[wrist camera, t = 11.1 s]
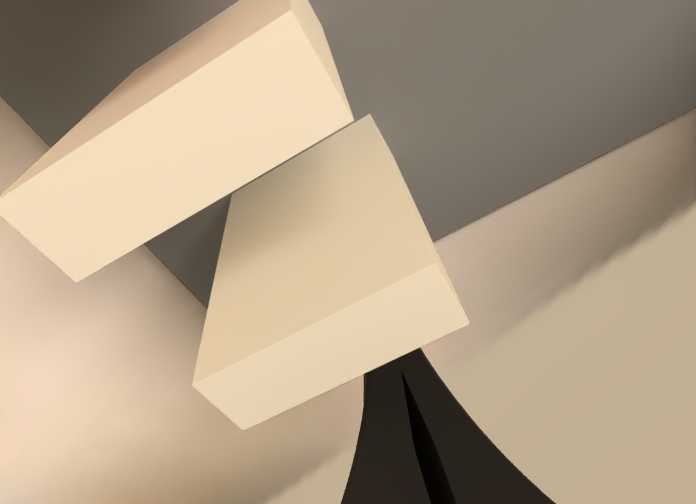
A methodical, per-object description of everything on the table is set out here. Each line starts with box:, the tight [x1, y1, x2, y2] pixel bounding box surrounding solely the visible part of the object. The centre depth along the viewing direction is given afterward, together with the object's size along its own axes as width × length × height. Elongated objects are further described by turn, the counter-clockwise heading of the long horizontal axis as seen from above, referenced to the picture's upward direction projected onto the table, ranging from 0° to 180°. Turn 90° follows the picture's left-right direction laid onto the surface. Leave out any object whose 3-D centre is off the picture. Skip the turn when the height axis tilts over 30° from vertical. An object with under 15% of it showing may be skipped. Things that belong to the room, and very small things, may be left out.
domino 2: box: [192, 114, 470, 430], centre depth 13 cm, size 5×2×8 cm, turn 119°
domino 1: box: [0, 0, 354, 283], centre depth 10 cm, size 5×2×8 cm, turn 119°
